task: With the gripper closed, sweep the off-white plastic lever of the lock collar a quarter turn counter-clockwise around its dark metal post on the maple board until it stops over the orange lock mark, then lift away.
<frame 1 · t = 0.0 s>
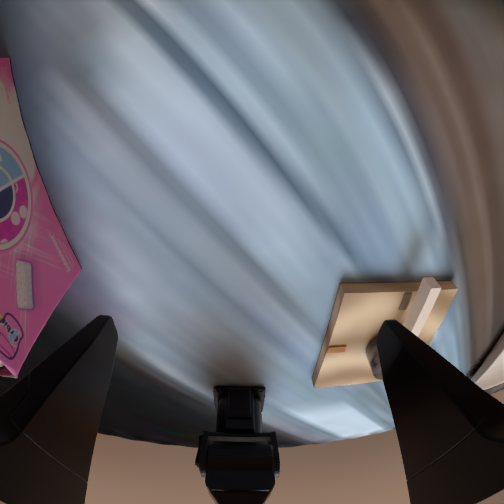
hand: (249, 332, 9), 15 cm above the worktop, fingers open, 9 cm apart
gum box: (14, 177, 20), on the worktop
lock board: (381, 335, 31), on the worktop
lock collar: (404, 330, 26), point 3 cm above the worktop, hinge at 0.0°
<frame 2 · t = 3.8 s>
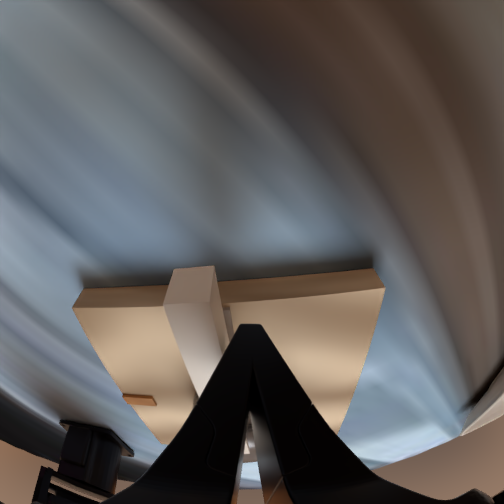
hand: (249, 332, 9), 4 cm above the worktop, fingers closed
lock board: (237, 380, 17), on the worktop
lock collar: (226, 390, 12), point 3 cm above the worktop, hinge at 1.1°, touching gripper
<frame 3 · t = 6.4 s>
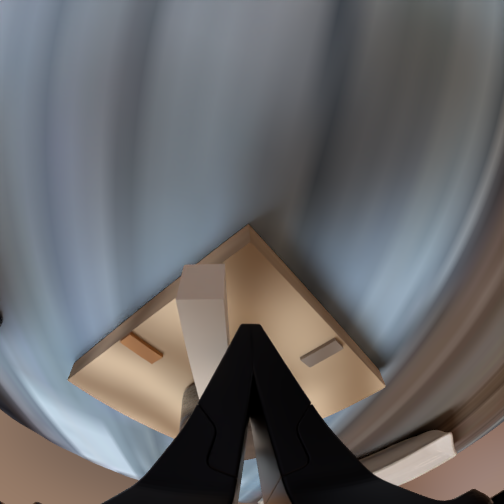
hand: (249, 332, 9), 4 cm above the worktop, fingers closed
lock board: (226, 378, 17), on the worktop
lock collar: (220, 388, 12), point 3 cm above the worktop, hinge at 51.1°, touching gripper
square plate: (371, 466, 35), on the worktop
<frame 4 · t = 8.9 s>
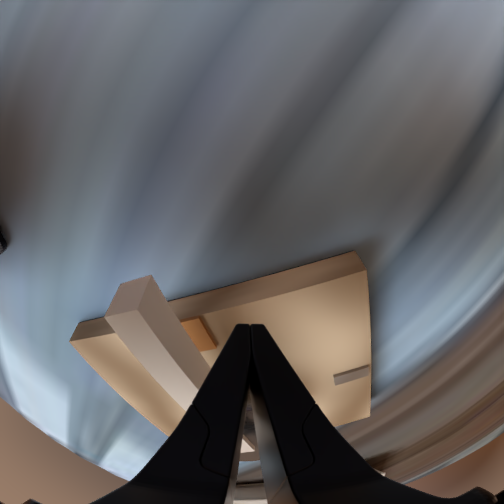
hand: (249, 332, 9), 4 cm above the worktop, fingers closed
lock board: (242, 379, 17), on the worktop
lock collar: (213, 391, 12), point 3 cm above the worktop, hinge at 90.1°
square plate: (293, 488, 37), on the worktop
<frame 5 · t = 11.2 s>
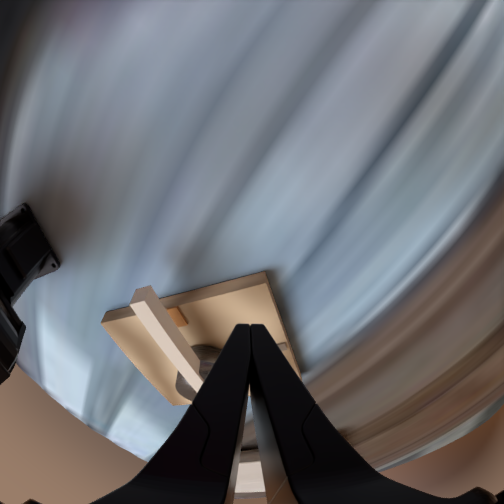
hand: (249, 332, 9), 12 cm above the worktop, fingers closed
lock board: (208, 349, 27), on the worktop
lock collar: (185, 349, 22), point 3 cm above the worktop, hinge at 90.2°
square plate: (269, 462, 46), on the worktop
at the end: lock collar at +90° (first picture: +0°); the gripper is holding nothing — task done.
